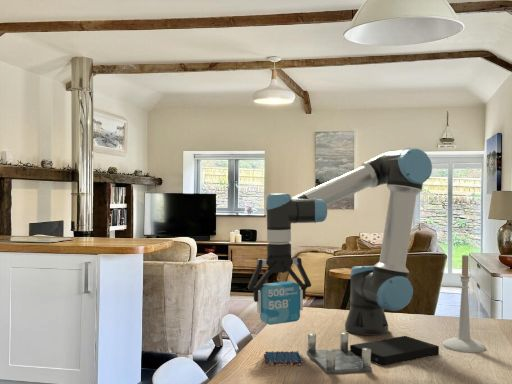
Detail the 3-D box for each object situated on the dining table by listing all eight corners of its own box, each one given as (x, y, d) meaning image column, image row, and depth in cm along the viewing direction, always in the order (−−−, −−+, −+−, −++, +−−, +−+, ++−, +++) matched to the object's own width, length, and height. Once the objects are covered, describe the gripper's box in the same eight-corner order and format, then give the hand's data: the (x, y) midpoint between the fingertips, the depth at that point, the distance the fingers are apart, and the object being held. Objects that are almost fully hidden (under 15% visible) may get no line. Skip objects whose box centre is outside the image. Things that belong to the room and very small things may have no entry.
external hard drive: (438, 355, 176) (438, 346, 176) (382, 367, 164) (382, 356, 164) (404, 344, 188) (404, 335, 188) (349, 354, 176) (350, 344, 176)
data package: (266, 325, 175) (265, 286, 175) (259, 322, 179) (259, 284, 179) (300, 320, 180) (299, 282, 180) (293, 317, 184) (292, 280, 184)
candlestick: (475, 355, 176) (477, 257, 175) (436, 346, 184) (437, 253, 184) (491, 346, 185) (492, 254, 185) (453, 339, 194) (454, 250, 193)
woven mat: (263, 357, 172) (263, 350, 172) (298, 357, 173) (298, 350, 173) (265, 368, 162) (265, 360, 162) (302, 367, 162) (302, 360, 162)
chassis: (346, 351, 178) (347, 332, 177) (372, 371, 158) (372, 350, 158) (306, 353, 175) (306, 333, 175) (327, 374, 156) (327, 352, 155)
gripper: (313, 240, 185) (314, 306, 186) (237, 243, 180) (238, 310, 181) (320, 242, 178) (321, 311, 178) (242, 245, 173) (243, 315, 173)
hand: (279, 310), depth 179 cm, fingers closed on data package, 13 cm apart
